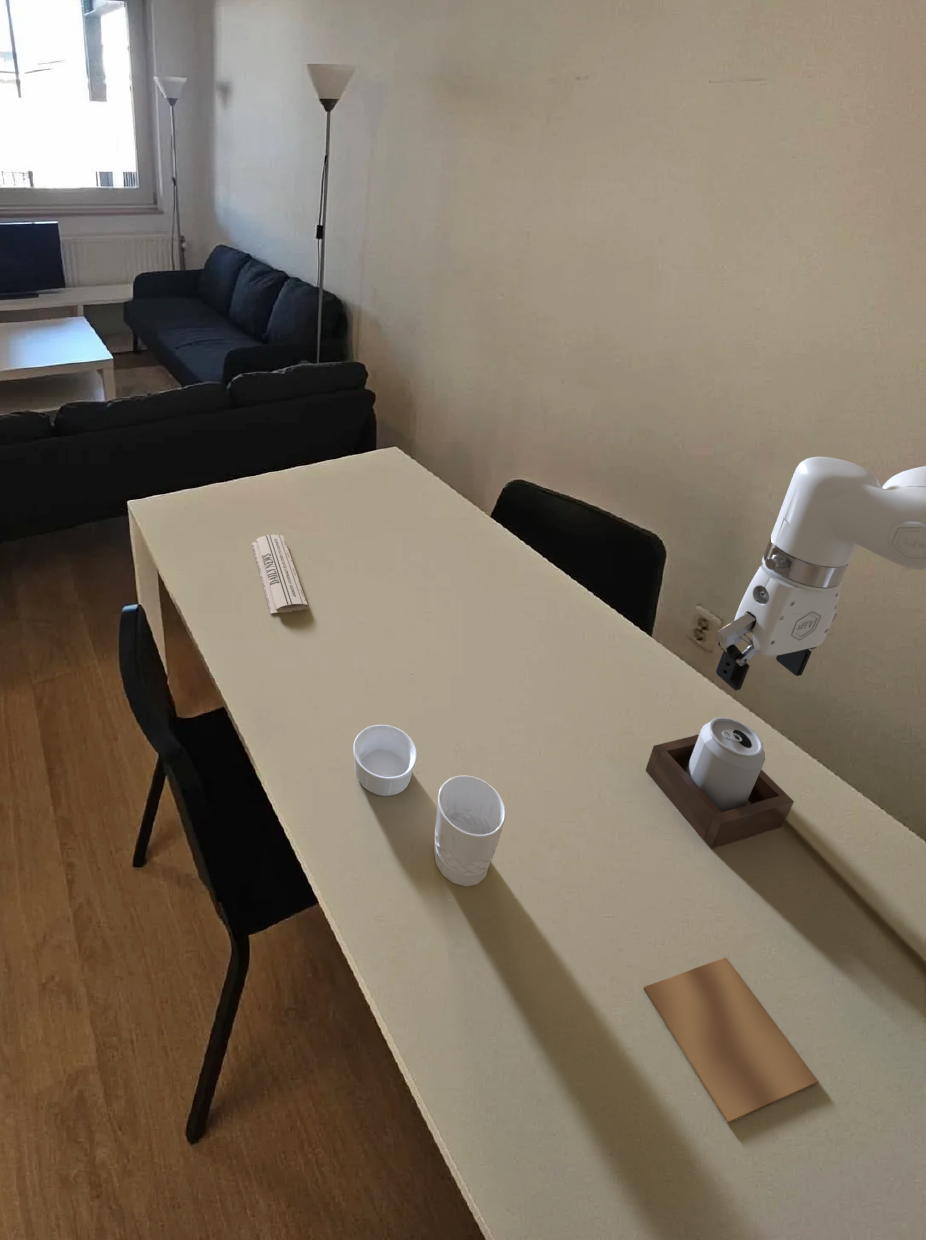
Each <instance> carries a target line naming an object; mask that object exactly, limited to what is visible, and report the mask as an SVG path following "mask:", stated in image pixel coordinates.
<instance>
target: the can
mask: <svg viewBox="0 0 926 1240" xmlns="http://www.w3.org/2000/svg"><path fill="white" fill-rule="evenodd" d="M698 735H699V737H698V739H697V742H696V745H695V747H694V750H693V753H692V756H691V758H690V761H689V764H688V766H687V768H685V772H686V773H687V774H688V775H689V777H690V778H691V779H692V780H693V781H694V782H695V783H696V784H697V785H698V787H699V788H700V789H701V790H702V791H703V792H704V793H705V794H706V796H707V797H708V798H709V799H710V800H711V801H712V802H713V803H714V804H715V806H716V807H717V808H718V809H719V810H720V811H721V813H722V812H725V811H729V810H732V809H736V808H739V807H743V806H746V805H747V803H748V802H749V801H748V798H749V796H750V794H751V791H752V789H753V787H754V785H755V782H756V780H757V778H758V775H759V773H760V771H761V769H762V768H763V766H764V764H765V762H766V753H765V751H764V743H763V741H762V739H761V738H760V736H759V735H758V734H757V732H756V731H754V730H753V729H751V728H750V727H749V726H748V725H747V724H744V723H743V722H741V721H739V720H736V719H734V718H730V717H723V716H722V717H715V718H712V719H711V721H709V722H707V723H705V724H703V726H702V728H701V729H700V731H699V734H698Z"/></svg>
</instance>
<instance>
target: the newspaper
mask: <svg viewBox="0 0 926 1240" xmlns="http://www.w3.org/2000/svg"><path fill="white" fill-rule="evenodd" d="M251 547H252V549H253V554H254V557H255V561H256V566H257V568H258V572H259V576H260V579H261V580H260V581H261V584H262V587H263V591H264V595H265V599H266V602H267V607H268V610H269V614H271V615H273V614H277V613H280V614H281V613H292V612H293V613H294V612H301V611H303V610H306V609H307V608H308V607H309V606H308V605H309V604H308V602H307V599H306V596H305V594H304V590H303V588H302V585H301V581H300V579H299V576H298V573H297V570H296V567H295V565H294V562H293V559H292V557H291V553H290V551H289V548H288V546H287V542H286V539H285V536H284V535H282V534H267V535H262V536H260V537H257V538H256V541H254V542H253V541H252V542H251Z"/></svg>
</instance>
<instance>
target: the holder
mask: <svg viewBox="0 0 926 1240" xmlns="http://www.w3.org/2000/svg"><path fill="white" fill-rule="evenodd" d="M698 737H699V734H695V735H691V736H688V737H682V738H679V739H675V740H671V741H667V742H663V743H658V744H654V745H653V746H652V749H651V752H650V755H649V758H648V761H647V763H646V766H645V772H646V773H647V774H648V776H649V777H650V778H651V779H652V781H653V782H654V783H655V784H656V785H657V787H658V788H659V789H660V790H661V791H662V793H663V794H664V795H665V797H667V799H668V800H669V801H670V802H671V804H673V806H674V807H675V808H676V809H677V810H678V812H679V813H680V814H681V815H682V816H683V818H684V819H685V820H686V821H687V823H688V824H689V825H690V826H691V828H693V830H694V831H695V832H696V833H697V834H698V836H699V837H700V838H701V840H702V841H703V842H704V843H705V844H706V845H707V846H708V847H709V849H710V850H712V849H716V848H719V847H722V846H725V845H728V844H732V843H734V842H739V841H741V840H745V839H748V838H752V837H754V836H758V835H761V834H765V833H768V832H771V831H774V830H777V829H780V828H783V826H784V824H785V822H786V820H787V818H788V815H789V813H790V812H791V810H792V807H793V805H794V803H795V801H794V800H793V799H792V798H791V797H790V796H789V795H788V794H787V793H786V792H785V791H784V790H783V789H782V788H781V787H780V785H778V784H777V783H776V782H775V781H774V780H773V779H772V778H771V777H770V776H769V775H768V774H767V773H766V772H765V771H764V770H763V769H762V768H761V771H760V773H759V775H758V778H757V780H756V782H755V785H754V787H753V789H752V791H751V794H750V796H749V798H748V801H747V802H749V803H750V804H746V805H745V806H743V807H739V808H736V809H732V810H729V811H725V812H722V813H721V811H720V810H719V809H718V808H717V807H716V806H715V804H714V803H713V802H712V801H711V800H710V799H709V798H708V797H707V796H706V794H705V793H704V792H703V791H702V790H701V789H700V788H699V787H698V785H697V784H696V783H695V782H694V781H693V780H692V779H691V778H690V777H689V775H688V774H687V773H686V769H687V766H688V764H689V761H690V758H691V756H692V753H693V750H694V747H695V745H696V742H697V739H698Z"/></svg>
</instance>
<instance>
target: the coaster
mask: <svg viewBox="0 0 926 1240" xmlns="http://www.w3.org/2000/svg"><path fill="white" fill-rule="evenodd" d="M642 989H643V991H644V993H645V994H646V996H647V997H648V998H649V1000H650V1002H651V1004H652V1005H653V1007H654V1008H655V1011H657V1013H658V1015H659V1016H660V1018H661V1020H662V1021H663V1023H664V1025H665V1026H666V1028H667V1029H668V1031H669V1033H670V1034H671V1036H672V1037H673V1039H674V1040H675V1042H676V1044H677V1046H678V1047H679V1048H680V1050H681V1052H682V1054H683V1055H684V1056H685V1058H686V1060H687V1062H688V1063H689V1065H690V1067H691V1068H692V1070H693V1072H694V1073H695V1074H696V1076H697V1077H698V1079H699V1081H700V1082H701V1084H702V1087H704V1089H705V1090H706V1093H707V1094H708V1095H709V1097H710V1099H711V1100H712V1101H713V1103H714V1105H715V1104H716V1105H715V1107H716V1108H717V1109H718V1112H719V1113H720V1115H721V1116H722V1115H723V1116H722V1118H723V1117H724V1118H723V1119H724V1121H725V1122H726V1121H727V1122H726V1124H727V1123H729V1124H731V1123H732V1122H731V1121H733V1122H735V1121H737V1120H736V1119H738V1120H740V1119H742V1118H744V1117H746V1116H749V1115H751V1114H754V1113H755V1112H758V1111H759V1110H762V1109H764V1108H767V1107H768V1106H771V1105H773V1104H775V1103H778V1102H779V1101H782V1100H784V1099H786V1098H788V1097H790V1096H793V1095H795V1094H797V1093H800V1092H802V1091H804V1090H807V1089H808V1088H811V1087H813V1086H815V1085H817V1084H819V1080H818V1079H817V1077H816V1076H815V1074H814V1073H813V1072H812V1071H811V1069H810V1068H809V1067H808V1065H807V1064H806V1062H805V1061H804V1060H803V1058H802V1057H801V1056H800V1054H799V1053H798V1052H797V1050H796V1049H795V1048H794V1047H793V1045H792V1044H791V1043H790V1041H789V1040H788V1038H787V1037H786V1036H785V1034H784V1033H783V1031H782V1030H781V1029H780V1028H779V1026H778V1025H777V1023H776V1022H775V1021H774V1020H773V1018H772V1017H771V1015H770V1014H769V1013H768V1011H767V1010H766V1009H765V1008H764V1006H763V1005H762V1003H761V1002H760V1001H759V999H758V998H757V996H755V994H754V992H753V991H752V990H751V989H750V987H749V986H748V985H747V984H746V982H745V980H743V978H742V977H741V975H740V974H739V972H738V971H737V970H736V968H735V967H734V965H733V964H732V963H731V962H730V961H729V959H728V958H727V957H726V956H725V957H721V958H719V959H716V960H714V961H712V962H708V963H705V964H702V965H700V966H697V967H695V968H691V969H689V970H686V971H683V972H680V973H678V974H675V975H672V976H670V977H667V978H665V979H662V980H659V981H656V982H654V983H651V984H648V985H645V986H643V988H642ZM748 1114H749V1115H748ZM745 1115H746V1116H745ZM743 1116H744V1117H743ZM741 1117H742V1118H741ZM739 1118H740V1119H739ZM734 1120H735V1121H734ZM730 1122H731V1123H730Z"/></svg>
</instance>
